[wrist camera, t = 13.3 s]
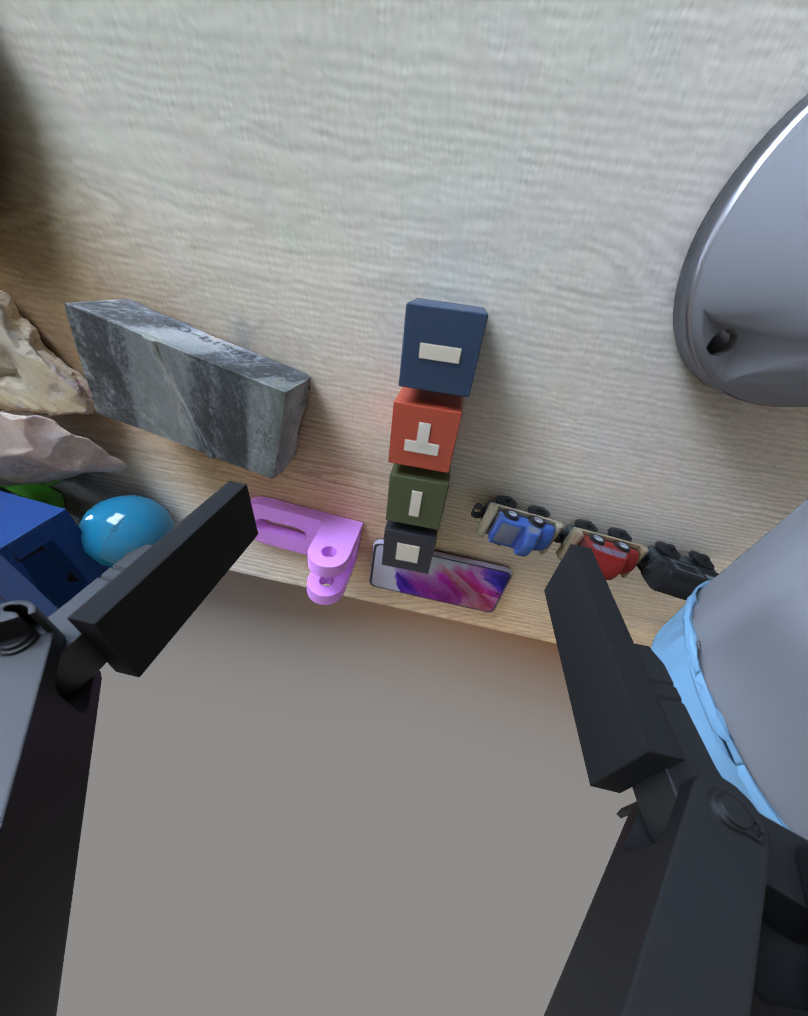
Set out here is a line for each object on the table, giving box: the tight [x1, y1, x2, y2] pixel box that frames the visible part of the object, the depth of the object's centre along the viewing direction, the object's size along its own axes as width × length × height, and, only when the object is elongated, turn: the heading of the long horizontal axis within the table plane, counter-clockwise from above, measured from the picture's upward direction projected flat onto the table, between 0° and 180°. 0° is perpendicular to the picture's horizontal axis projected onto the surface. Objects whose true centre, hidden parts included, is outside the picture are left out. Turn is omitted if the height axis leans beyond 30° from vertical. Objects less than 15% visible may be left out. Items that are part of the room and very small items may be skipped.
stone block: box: [64, 299, 311, 479], centre depth 25 cm, size 9×14×5 cm, turn 69°
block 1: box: [399, 298, 488, 397], centre depth 20 cm, size 4×4×5 cm
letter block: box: [388, 387, 463, 473], centre depth 24 cm, size 4×4×5 cm
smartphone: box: [369, 539, 512, 612], centre depth 35 cm, size 7×1×15 cm
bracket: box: [251, 497, 363, 605], centre depth 32 cm, size 13×6×7 cm, turn 78°
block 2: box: [386, 463, 451, 530], centre depth 27 cm, size 4×4×5 cm
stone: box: [0, 290, 96, 417], centre depth 27 cm, size 13×4×10 cm
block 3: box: [382, 520, 437, 574], centre depth 30 cm, size 4×4×5 cm
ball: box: [78, 495, 175, 568], centre depth 34 cm, size 8×8×8 cm
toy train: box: [471, 496, 719, 600], centre depth 27 cm, size 4×22×5 cm, turn 77°
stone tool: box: [0, 412, 128, 487], centre depth 30 cm, size 9×5×15 cm
